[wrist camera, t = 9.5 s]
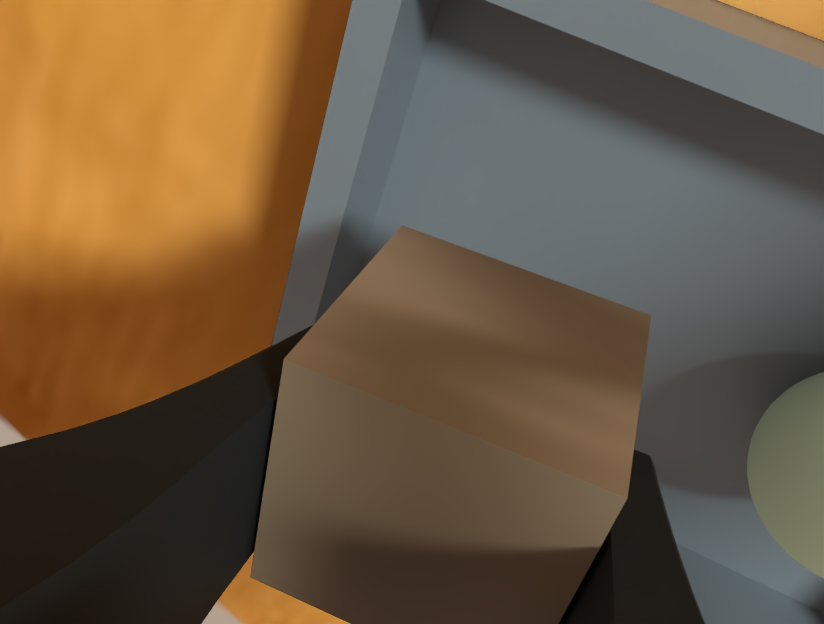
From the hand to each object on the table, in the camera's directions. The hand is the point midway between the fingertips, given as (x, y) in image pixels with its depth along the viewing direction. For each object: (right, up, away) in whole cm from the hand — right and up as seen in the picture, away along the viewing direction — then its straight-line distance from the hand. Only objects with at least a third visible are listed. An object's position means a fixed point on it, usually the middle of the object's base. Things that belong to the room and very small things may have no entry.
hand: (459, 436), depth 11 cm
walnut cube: (+1, +1, +1) cm, 2 cm away
